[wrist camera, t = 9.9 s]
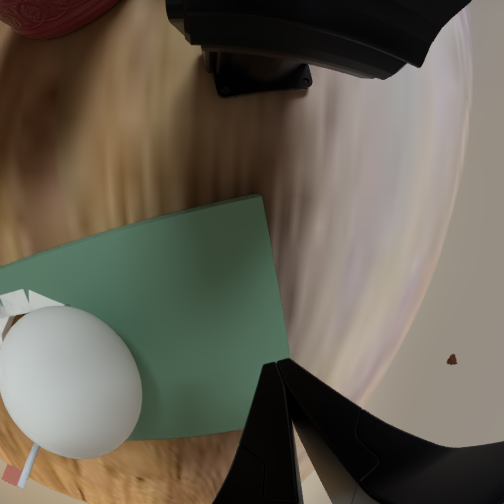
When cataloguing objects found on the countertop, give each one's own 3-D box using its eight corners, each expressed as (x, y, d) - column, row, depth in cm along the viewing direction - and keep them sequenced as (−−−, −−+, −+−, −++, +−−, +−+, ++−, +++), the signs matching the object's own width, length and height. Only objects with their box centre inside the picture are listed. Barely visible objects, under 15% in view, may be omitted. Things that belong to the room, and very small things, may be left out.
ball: (159, 308, 13) (-29, 298, 7) (179, 473, 12) (16, 489, 5) (116, 307, 21) (4, 301, 14) (127, 418, 19) (21, 422, 12)
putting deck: (256, 193, 18) (327, 232, 7) (294, 401, 25) (331, 501, 13) (-39, 283, 16) (-105, 333, 5) (41, 422, 22) (14, 489, 11)
